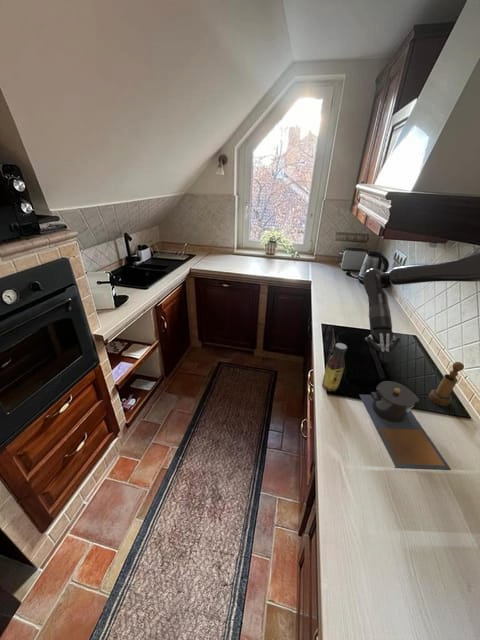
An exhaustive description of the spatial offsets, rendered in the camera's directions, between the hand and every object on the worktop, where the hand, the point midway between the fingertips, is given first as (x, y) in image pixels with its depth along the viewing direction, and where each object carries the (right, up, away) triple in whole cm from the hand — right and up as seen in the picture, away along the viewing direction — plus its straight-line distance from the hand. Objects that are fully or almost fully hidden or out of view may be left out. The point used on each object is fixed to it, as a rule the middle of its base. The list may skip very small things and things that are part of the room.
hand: (384, 362), depth 95 cm
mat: (-1, -21, -9) cm, 22 cm away
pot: (-1, -17, -3) cm, 17 cm away
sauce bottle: (-18, -11, +7) cm, 22 cm away
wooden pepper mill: (+22, -15, +2) cm, 26 cm away
